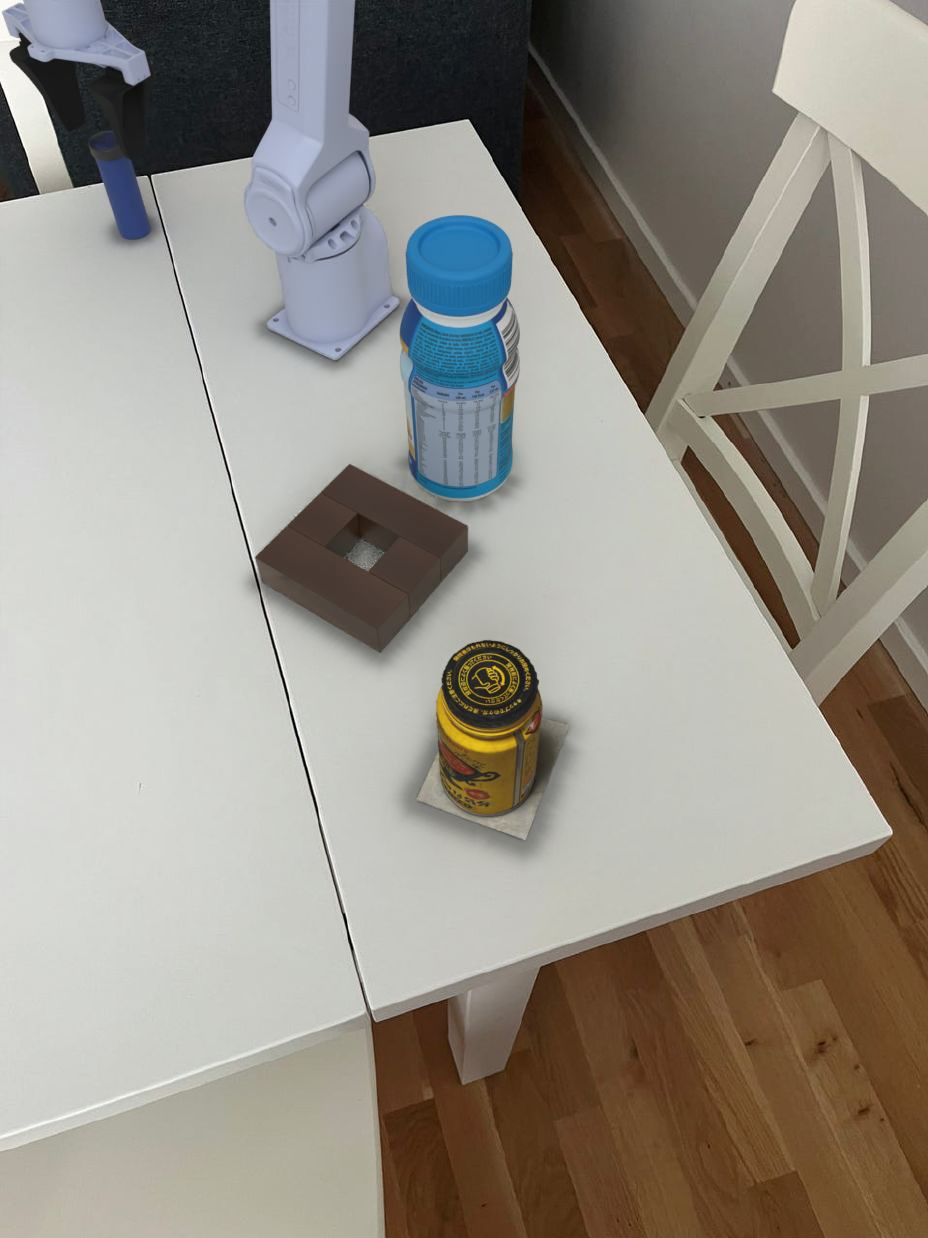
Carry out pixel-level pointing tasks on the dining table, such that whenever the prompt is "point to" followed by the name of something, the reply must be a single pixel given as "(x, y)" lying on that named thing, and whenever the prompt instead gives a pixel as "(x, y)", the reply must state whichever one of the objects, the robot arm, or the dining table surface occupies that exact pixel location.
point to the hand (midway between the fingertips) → (105, 139)
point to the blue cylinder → (120, 186)
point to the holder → (345, 592)
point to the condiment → (492, 739)
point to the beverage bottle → (459, 357)
